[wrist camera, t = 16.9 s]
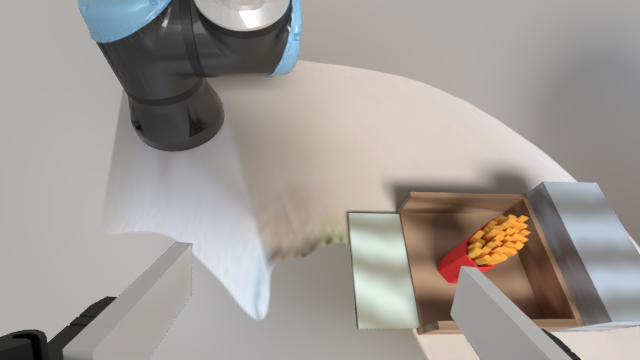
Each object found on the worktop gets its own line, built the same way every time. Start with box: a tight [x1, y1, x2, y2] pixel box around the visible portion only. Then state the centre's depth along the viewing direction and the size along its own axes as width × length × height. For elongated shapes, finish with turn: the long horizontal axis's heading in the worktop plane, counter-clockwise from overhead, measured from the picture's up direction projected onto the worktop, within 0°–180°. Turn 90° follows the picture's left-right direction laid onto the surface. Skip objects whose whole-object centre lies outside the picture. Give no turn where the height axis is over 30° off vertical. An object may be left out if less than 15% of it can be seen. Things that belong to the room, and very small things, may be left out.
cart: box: [348, 182, 640, 335], centre depth 40 cm, size 18×34×10 cm, turn 91°
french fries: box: [438, 214, 531, 284], centre depth 38 cm, size 8×4×12 cm, turn 126°
